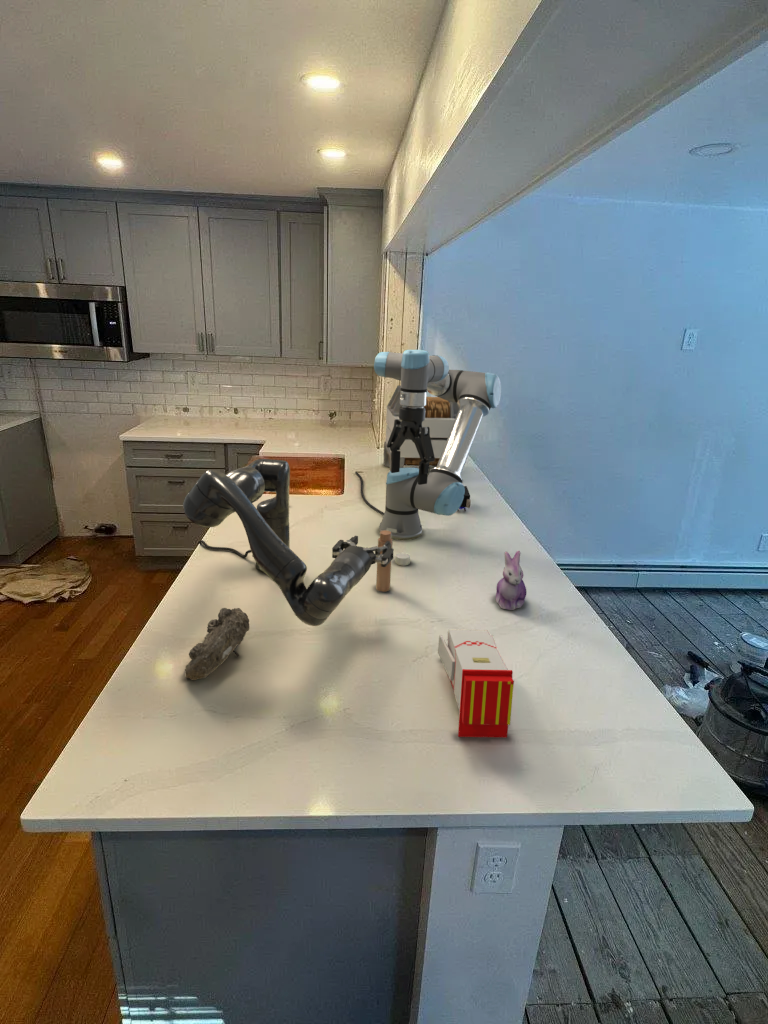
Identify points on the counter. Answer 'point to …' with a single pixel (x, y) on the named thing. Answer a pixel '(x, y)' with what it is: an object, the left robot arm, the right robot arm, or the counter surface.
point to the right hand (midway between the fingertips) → (408, 478)
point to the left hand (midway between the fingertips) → (372, 541)
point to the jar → (383, 572)
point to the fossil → (217, 643)
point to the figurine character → (465, 500)
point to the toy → (478, 682)
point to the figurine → (511, 584)
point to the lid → (402, 559)
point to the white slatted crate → (436, 418)
